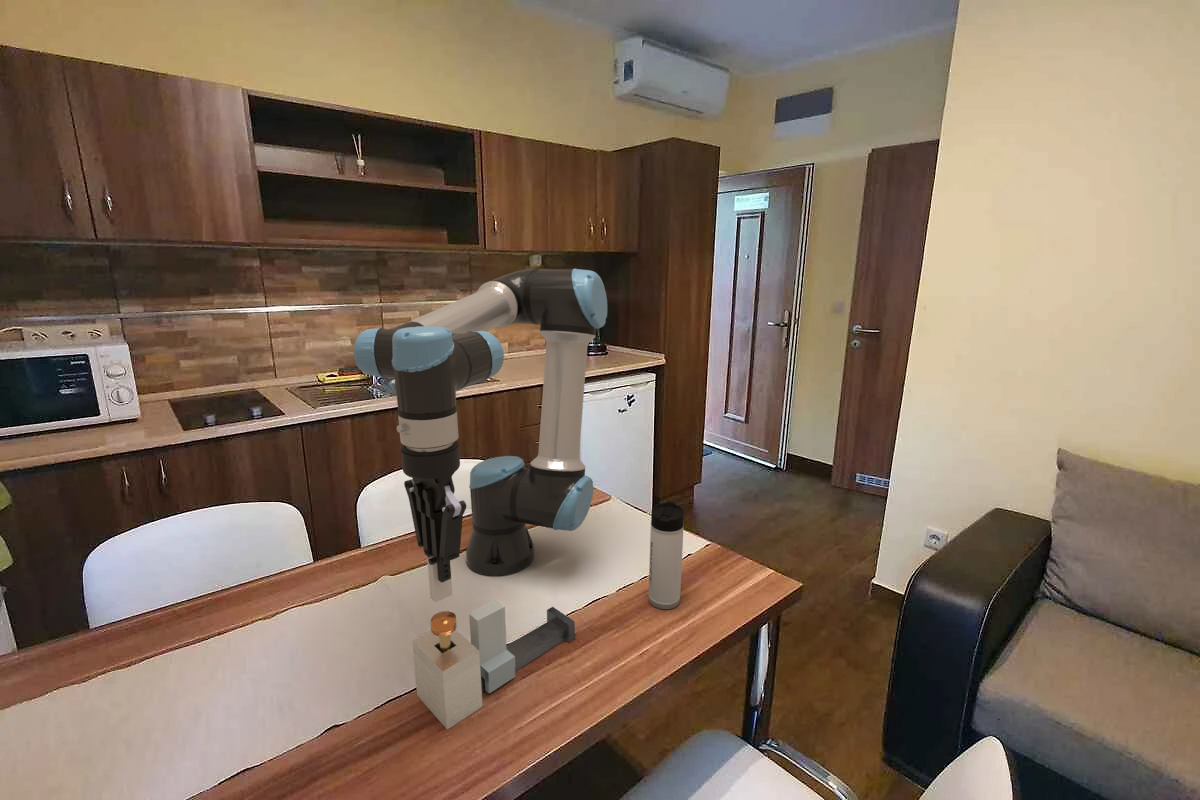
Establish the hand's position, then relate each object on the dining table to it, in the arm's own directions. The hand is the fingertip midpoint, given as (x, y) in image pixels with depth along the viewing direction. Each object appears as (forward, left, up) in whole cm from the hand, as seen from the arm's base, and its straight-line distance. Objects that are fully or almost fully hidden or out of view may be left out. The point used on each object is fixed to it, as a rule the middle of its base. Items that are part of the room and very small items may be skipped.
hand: (441, 596), depth 81 cm
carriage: (0, +8, -18) cm, 20 cm away
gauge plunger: (0, 0, -12) cm, 12 cm away
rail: (0, +10, -18) cm, 21 cm away
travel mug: (+7, +44, -19) cm, 48 cm away
